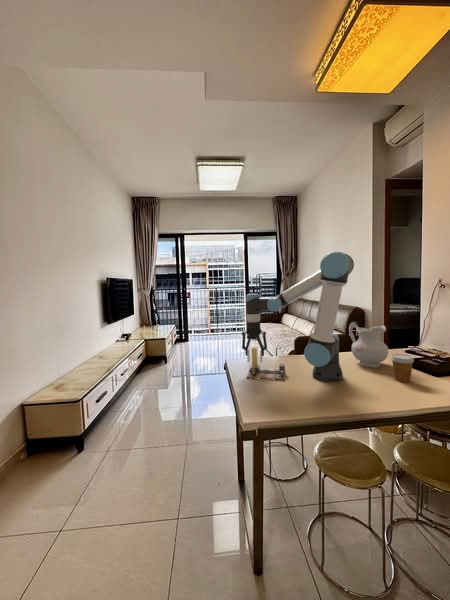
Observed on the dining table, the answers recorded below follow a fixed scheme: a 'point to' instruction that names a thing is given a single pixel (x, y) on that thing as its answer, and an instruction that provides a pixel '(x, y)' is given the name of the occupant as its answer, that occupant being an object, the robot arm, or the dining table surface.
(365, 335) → the ceramic pitcher
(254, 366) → the sliding leg
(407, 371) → the disposable coffee cup
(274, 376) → the pitch board
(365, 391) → the dining table surface
